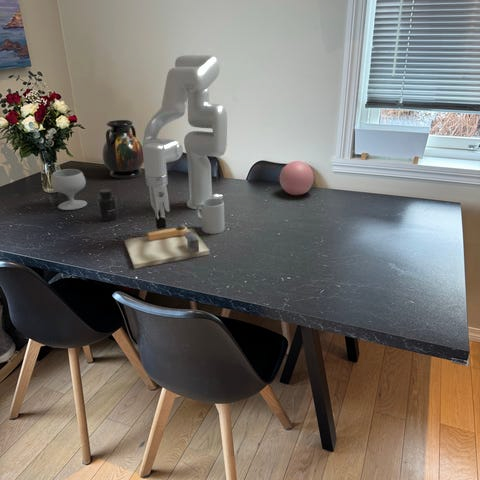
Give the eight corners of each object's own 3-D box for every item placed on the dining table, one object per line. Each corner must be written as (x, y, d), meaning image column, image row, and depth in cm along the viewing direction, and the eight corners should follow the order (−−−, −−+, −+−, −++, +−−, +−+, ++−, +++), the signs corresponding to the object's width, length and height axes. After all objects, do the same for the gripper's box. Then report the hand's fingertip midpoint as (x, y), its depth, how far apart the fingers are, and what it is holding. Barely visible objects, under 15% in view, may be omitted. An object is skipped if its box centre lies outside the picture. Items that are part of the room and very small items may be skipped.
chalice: (57, 213, 178) (50, 179, 172) (54, 203, 190) (47, 170, 183) (92, 208, 184) (86, 174, 178) (86, 198, 195) (81, 166, 189)
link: (185, 230, 157) (185, 225, 156) (188, 234, 153) (188, 229, 153) (147, 236, 152) (147, 231, 151) (149, 241, 149) (149, 236, 148)
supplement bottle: (113, 222, 169) (109, 193, 164) (97, 221, 170) (93, 192, 165) (121, 216, 175) (117, 188, 170) (106, 215, 176) (101, 187, 171)
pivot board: (192, 232, 160) (191, 217, 157) (209, 254, 143) (209, 238, 141) (124, 243, 151) (122, 228, 149) (134, 268, 134) (132, 252, 132)
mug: (229, 228, 163) (228, 200, 158) (216, 235, 156) (215, 207, 152) (203, 221, 169) (202, 195, 164) (190, 229, 162) (188, 202, 158)
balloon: (318, 188, 205) (321, 156, 198) (307, 201, 188) (309, 167, 182) (288, 184, 210) (289, 154, 204) (274, 197, 194) (275, 164, 187)
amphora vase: (125, 183, 215) (118, 127, 203) (96, 177, 226) (88, 123, 214) (155, 173, 232) (149, 120, 220) (127, 167, 242) (120, 117, 230)
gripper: (172, 184, 144) (176, 233, 152) (162, 173, 157) (166, 219, 164) (150, 186, 142) (155, 237, 149) (141, 175, 154) (146, 222, 162)
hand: (161, 227), depth 157 cm, fingers closed
